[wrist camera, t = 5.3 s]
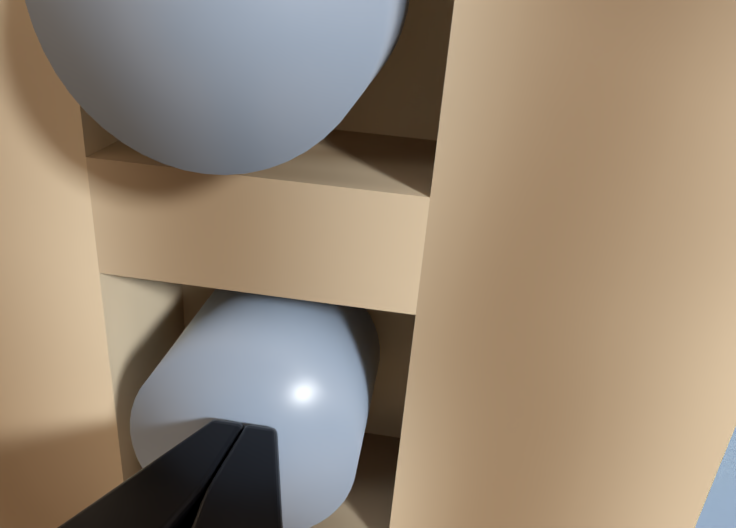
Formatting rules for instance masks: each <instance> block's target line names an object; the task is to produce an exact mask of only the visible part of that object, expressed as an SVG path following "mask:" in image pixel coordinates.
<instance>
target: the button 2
mask: <svg viewBox="0 0 736 528" xmlns="http://www.w3.org/2000/svg"><path fill="white" fill-rule="evenodd" d="M379 360H380V345H379V338H378V334H377V331H376V327H375V325H374V323H373V321H372V318H371V316H370V315H369V313H368V312H367V310H366V308H359V307H351V306H344V305H336V304H329V303H321V302H314V301H306V300H299V299H291V298H283V297H276V296H268V295H261V294H253V293H246V292H238V291H231V290H223V289H215V290H214V292H213V293H212V294H211V295H210V297H209V298H208V299H207V301H206V302H205V303H204V305H203V306H202V307H201V309H200V310H199V311H198V313H197V314H196V315H195V317H194V318H193V319H192V321H191V322H190V323H189V325H188V326H187V327H186V329H185V330H184V331H183V333H182V334H181V335H180V337H179V338H178V339H177V340H176V342H175V343H174V344H173V346H172V347H171V348H170V350H169V351H168V352H167V354H166V355H165V356H164V358H163V359H162V360H161V362H160V363H159V364H158V366H157V367H156V368H155V370H154V371H153V372H152V374H151V375H150V376H149V378H148V379H147V380H146V382H145V383H144V384H143V385H142V387H141V388H140V390H139V392H138V394H137V396H136V398H135V400H134V403H133V406H132V409H131V416H130V435H131V440H132V445H133V448H134V451H135V454H136V457H137V459H138V461H139V463H140V465H141V467H142V469H143V468H144V467H145V466H147V465H148V464H150V463H151V462H153V461H154V460H156V459H157V458H158V457H160V456H161V455H163V454H164V453H166V452H167V451H169V450H170V449H171V448H173V447H174V446H176V445H177V444H179V443H180V442H182V441H183V440H184V439H186V438H187V437H189V436H190V435H192V434H193V433H195V432H196V431H197V430H199V429H200V428H202V427H203V426H205V425H206V424H208V423H209V422H211V421H213V420H224V421H231V422H237V423H242V424H243V425H244V426H245V427H246V426H248V425H257V426H264V427H270V428H274V429H276V431H277V434H278V449H279V467H280V485H281V502H282V520H283V528H310V527H312V526H314V525H316V524H318V523H320V522H321V521H323V520H325V519H326V518H328V517H329V516H330V515H331V514H332V513H334V512H335V511H336V510H337V509H338V508H339V507H340V505H341V504H342V503H343V502H344V501H345V499H346V497H347V496H348V494H349V492H350V490H351V488H352V485H353V482H354V479H355V475H356V470H357V465H358V461H359V456H360V451H361V446H362V442H363V437H364V432H365V428H366V423H367V418H368V413H369V409H370V404H371V399H372V395H373V390H374V385H375V380H376V376H377V371H378V366H379Z"/></svg>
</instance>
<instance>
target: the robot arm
mask: <svg viewBox="0 0 736 528" xmlns="http://www.w3.org/2000/svg"><path fill="white" fill-rule="evenodd" d="M57 528H283V520H282V502H281V485H280V467H279V449H278V434H277V431H276V429H274V428H270V427H264V426H257V425H248V426H246V427H245V426H244V425H243V424H242V423H237V422H231V421H224V420H213V421H211V422H209V423H208V424H206V425H205V426H203V427H202V428H200V429H199V430H197V431H196V432H195V433H193V434H192V435H190V436H189V437H187V438H186V439H184V440H183V441H182V442H180V443H179V444H177V445H176V446H174V447H173V448H171V449H170V450H169V451H167V452H166V453H164V454H163V455H161V456H160V457H158V458H157V459H156V460H154V461H153V462H151V463H150V464H148V465H147V466H145V467H144V468H143V469H141V470H140V471H138V472H137V473H135V474H134V475H132V476H131V477H130V478H128V479H127V480H125V481H124V482H122V483H121V484H119V485H118V486H117V487H115V488H114V489H112V490H111V491H109V492H108V493H106V494H105V495H104V496H102V497H101V498H99V499H98V500H96V501H95V502H93V503H92V504H91V505H89V506H88V507H86V508H85V509H83V510H82V511H80V512H79V513H77V514H76V515H75V516H73V517H72V518H70V519H69V520H67V521H66V522H64V523H63V524H62V525H60V526H59V527H57Z"/></svg>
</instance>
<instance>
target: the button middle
mask: <svg viewBox="0 0 736 528" xmlns="http://www.w3.org/2000/svg"><path fill="white" fill-rule="evenodd" d="M25 3H26V6H27V9H28V12H29V16H30V19H31V22H32V25H33V28H34V30H35V33H36V35H37V37H38V40H39V42H40V44H41V47H42V49H43V51H44V53H45V55H46V57H47V58H48V60H49V62H50V64H51V66H52V67H53V69H54V71H55V73H56V74H57V76H58V77H59V79H60V80H61V81H62V83H63V84H64V86H65V87H66V89H67V90H68V91H69V93H70V94H71V95H72V96H73V98H74V99H75V100H76V101H77V102H78V103H79V105H80V106H81V107H82V108H83V109H84V110H85V111H86V113H88V114H89V115H90V116H91V117H92V118H93V119H94V120H95V121H96V122H97V123H98V124H99V125H100V126H101V127H102V128H104V129H105V130H106V131H108V132H109V133H110V134H111V135H113V136H114V137H115V138H117V139H118V140H119V141H121V142H122V143H124V144H125V145H127V146H129V147H130V148H132V149H134V150H136V151H137V152H139V153H141V154H142V155H145V156H147V157H149V158H151V159H154V160H156V161H158V162H160V163H162V164H166V165H169V166H172V167H175V168H178V169H182V170H186V171H191V172H197V173H202V174H215V175H233V174H246V173H251V172H256V171H260V170H265V169H269V168H271V167H274V166H277V165H280V164H282V163H285V162H288V161H289V160H291V159H293V158H295V157H297V156H299V155H301V154H302V153H304V152H306V151H308V150H309V149H310V148H312V147H313V146H314V145H316V144H317V143H318V142H320V141H321V140H323V139H324V138H325V137H326V136H327V135H328V134H329V133H330V132H331V131H332V130H333V129H334V128H335V127H336V126H337V125H338V124H339V123H340V122H341V121H342V120H343V118H344V117H345V116H346V114H347V113H348V112H349V111H350V109H351V108H352V107H353V105H354V104H355V103H356V101H357V100H358V99H359V97H360V96H361V95H362V94H363V92H364V91H365V90H366V88H367V87H368V86H369V84H370V83H371V82H372V80H373V79H374V78H375V76H376V75H377V74H378V72H379V71H380V70H381V69H382V67H383V66H384V65H385V63H386V62H387V60H388V59H389V57H390V55H391V53H392V52H393V50H394V48H395V47H396V44H397V42H398V40H399V37H400V35H401V33H402V30H403V27H404V23H405V20H406V16H407V13H408V7H409V0H25Z"/></svg>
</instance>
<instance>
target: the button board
mask: <svg viewBox="0 0 736 528" xmlns="http://www.w3.org/2000/svg"><path fill="white" fill-rule="evenodd" d="M215 289H223V290H231V291H238V292H246V293H253V294H261V295H268V296H276V297H283V298H291V299H299V300H306V301H314V302H321V303H329V304H336V305H344V306H351V307H359V308H366V310H367V312H368V313H369V315H370V316H371V318H372V321H373V323H374V325H375V327H376V331H377V334H378V338H379V345H380V360H379V366H378V371H377V376H376V380H375V385H374V390H373V395H372V399H371V404H370V409H369V413H368V418H367V423H366V428H365V432H364V437H363V442H362V446H361V451H360V456H359V461H358V465H357V470H356V475H355V479H354V482H353V485H352V488H351V490H350V492H349V494H348V496H347V497H346V499H345V501H344V502H343V503H342V504H341V505H340V507H339V508H338V509H337V510H336V511H335V512H334V513H332V514H331V515H330V516H329V517H328V518H326V519H325V520H323V521H321V522H320V523H318V524H316V525H314V526H312V527H310V528H695V525H696V523H697V520H698V518H699V516H700V513H701V511H702V508H703V506H704V503H705V501H706V498H707V496H708V493H709V491H710V488H711V486H712V483H713V481H714V478H715V476H716V473H717V471H718V468H719V466H720V463H721V461H722V459H723V456H724V454H725V451H726V449H727V446H728V444H729V441H730V439H731V436H732V434H733V431H734V429H735V426H736V0H409V7H408V13H407V16H406V20H405V23H404V27H403V30H402V33H401V35H400V37H399V40H398V42H397V44H396V47H395V48H394V50H393V52H392V53H391V55H390V57H389V59H388V60H387V62H386V63H385V65H384V66H383V67H382V69H381V70H380V71H379V72H378V74H377V75H376V76H375V78H374V79H373V80H372V82H371V83H370V84H369V86H368V87H367V88H366V90H365V91H364V92H363V94H362V95H361V96H360V97H359V99H358V100H357V101H356V103H355V104H354V105H353V107H352V108H351V109H350V111H349V112H348V113H347V114H346V116H345V117H344V118H343V120H342V121H341V122H340V123H339V124H338V125H337V126H336V127H335V128H334V129H333V130H332V131H331V132H330V133H329V134H328V135H327V136H326V137H325V138H324V139H323V140H321V141H320V142H318V143H317V144H316V145H314V146H313V147H312V148H310V149H309V150H308V151H306V152H304V153H302V154H301V155H299V156H297V157H295V158H293V159H291V160H289V161H288V162H285V163H282V164H280V165H277V166H274V167H271V168H269V169H265V170H260V171H256V172H251V173H246V174H233V175H215V174H202V173H197V172H191V171H186V170H182V169H178V168H175V167H172V166H169V165H166V164H162V163H160V162H158V161H156V160H154V159H151V158H149V157H147V156H145V155H142V154H141V153H139V152H137V151H136V150H134V149H132V148H130V147H129V146H127V145H125V144H124V143H122V142H121V141H119V140H118V139H117V138H115V137H114V136H113V135H111V134H110V133H109V132H108V131H106V130H105V129H104V128H102V127H101V126H100V125H99V124H98V123H97V122H96V121H95V120H94V119H93V118H92V117H91V116H90V115H89V114H88V113H86V111H85V110H84V109H83V108H82V107H81V106H80V105H79V103H78V102H77V101H76V100H75V99H74V98H73V96H72V95H71V94H70V93H69V91H68V90H67V89H66V87H65V86H64V84H63V83H62V81H61V80H60V79H59V77H58V76H57V74H56V73H55V71H54V69H53V67H52V66H51V64H50V62H49V60H48V58H47V57H46V55H45V53H44V51H43V49H42V47H41V44H40V42H39V40H38V37H37V35H36V33H35V30H34V28H33V25H32V22H31V19H30V16H29V12H28V9H27V6H26V3H25V0H0V528H57V527H59V526H60V525H62V524H63V523H64V522H66V521H67V520H69V519H70V518H72V517H73V516H75V515H76V514H77V513H79V512H80V511H82V510H83V509H85V508H86V507H88V506H89V505H91V504H92V503H93V502H95V501H96V500H98V499H99V498H101V497H102V496H104V495H105V494H106V493H108V492H109V491H111V490H112V489H114V488H115V487H117V486H118V485H119V484H121V483H122V482H124V481H125V480H127V479H128V478H130V477H131V476H132V475H134V474H135V473H137V472H138V471H140V470H141V469H142V467H141V465H140V463H139V461H138V459H137V457H136V454H135V451H134V448H133V445H132V440H131V435H130V416H131V409H132V406H133V403H134V400H135V398H136V396H137V394H138V392H139V390H140V388H141V387H142V385H143V384H144V383H145V382H146V380H147V379H148V378H149V376H150V375H151V374H152V372H153V371H154V370H155V368H156V367H157V366H158V364H159V363H160V362H161V360H162V359H163V358H164V356H165V355H166V354H167V352H168V351H169V350H170V348H171V347H172V346H173V344H174V343H175V342H176V340H177V339H178V338H179V337H180V335H181V334H182V333H183V331H184V330H185V329H186V327H187V326H188V325H189V323H190V322H191V321H192V319H193V318H194V317H195V315H196V314H197V313H198V311H199V310H200V309H201V307H202V306H203V305H204V303H205V302H206V301H207V299H208V298H209V297H210V295H211V294H212V293H213V292H214V290H215Z"/></svg>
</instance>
